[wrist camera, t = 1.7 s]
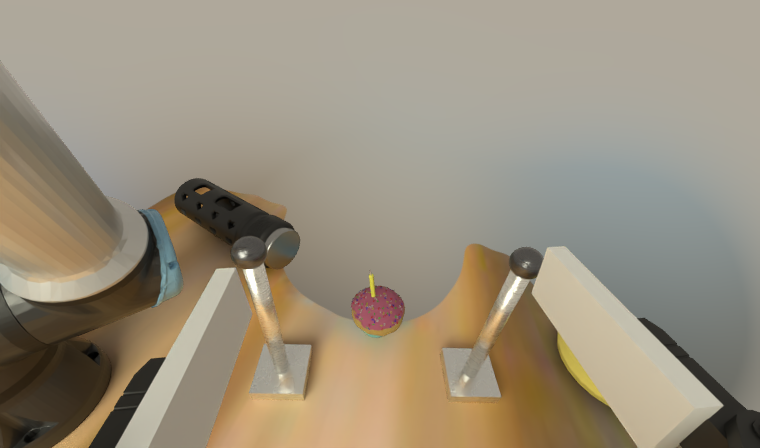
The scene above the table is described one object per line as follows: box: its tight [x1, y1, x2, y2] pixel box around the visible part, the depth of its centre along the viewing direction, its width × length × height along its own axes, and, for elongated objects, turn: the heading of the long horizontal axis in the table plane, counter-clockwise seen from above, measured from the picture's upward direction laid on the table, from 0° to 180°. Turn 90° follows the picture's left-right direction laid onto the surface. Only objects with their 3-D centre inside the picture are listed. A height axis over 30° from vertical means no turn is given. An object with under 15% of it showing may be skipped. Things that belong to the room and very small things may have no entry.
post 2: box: [440, 247, 544, 403], centre depth 37 cm, size 7×7×26 cm
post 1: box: [231, 236, 312, 400], centre depth 36 cm, size 7×7×26 cm
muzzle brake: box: [175, 178, 300, 269], centre depth 62 cm, size 10×28×10 cm, turn 56°
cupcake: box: [351, 271, 405, 338], centre depth 48 cm, size 9×8×12 cm
